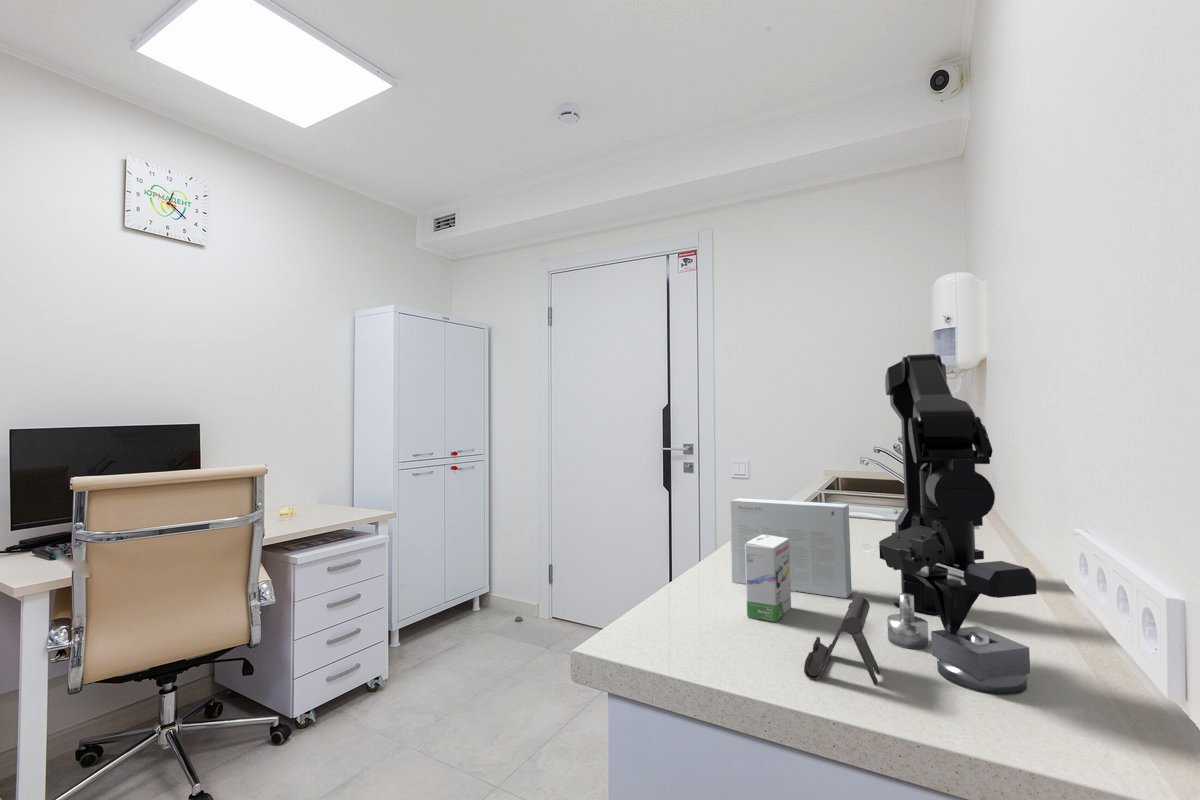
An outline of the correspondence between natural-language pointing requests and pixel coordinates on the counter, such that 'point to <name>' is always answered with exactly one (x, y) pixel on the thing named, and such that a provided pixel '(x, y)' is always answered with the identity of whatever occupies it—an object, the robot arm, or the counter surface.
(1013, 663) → the grey square ring block
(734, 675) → the counter surface
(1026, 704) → the counter surface
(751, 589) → the ink box
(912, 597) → the threaded levelling foot
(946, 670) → the hub
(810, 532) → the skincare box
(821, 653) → the portable electronic device stand
